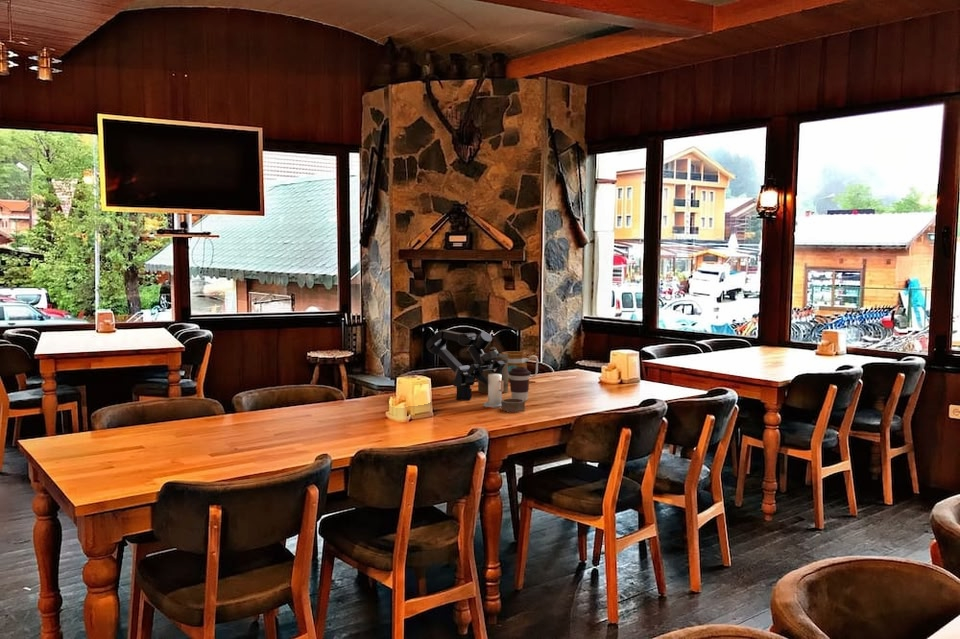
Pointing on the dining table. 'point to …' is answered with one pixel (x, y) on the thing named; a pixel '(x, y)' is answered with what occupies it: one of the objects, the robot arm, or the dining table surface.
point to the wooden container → (501, 357)
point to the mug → (519, 361)
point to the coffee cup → (519, 382)
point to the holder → (513, 405)
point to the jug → (495, 389)
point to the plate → (491, 405)
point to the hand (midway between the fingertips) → (495, 383)
